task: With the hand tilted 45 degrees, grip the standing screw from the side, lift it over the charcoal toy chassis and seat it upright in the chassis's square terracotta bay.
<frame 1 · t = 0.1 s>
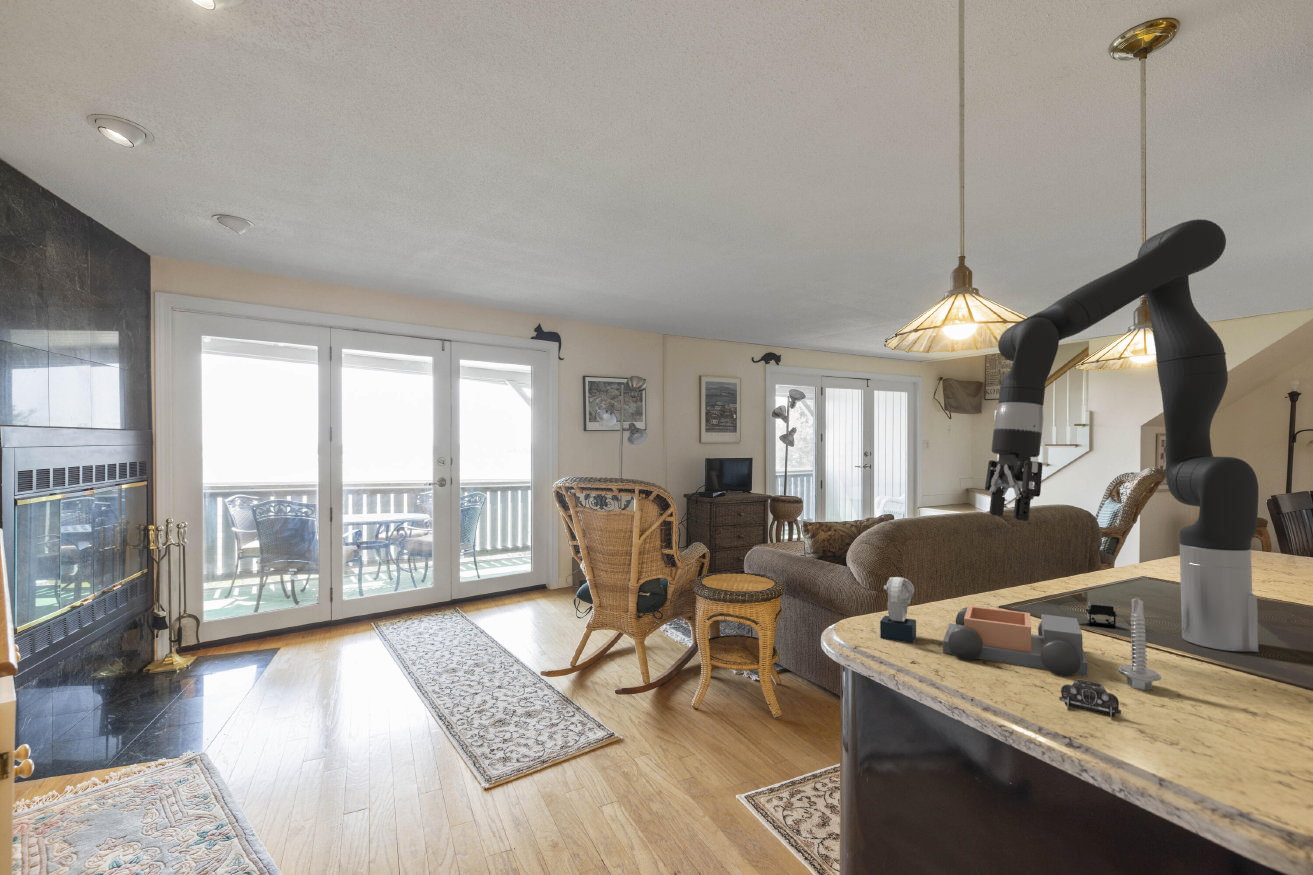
hand: (1007, 517, 106), 22 cm above the counter, tool pointing down, fingers open, 8 cm apart
build plate: (1101, 627, 115), on the counter
bust statue: (898, 638, 108), on the counter
screw: (1139, 687, 85), on the counter
toy chassis: (1011, 652, 99), on the counter
car cutout: (1129, 725, 75), on the counter
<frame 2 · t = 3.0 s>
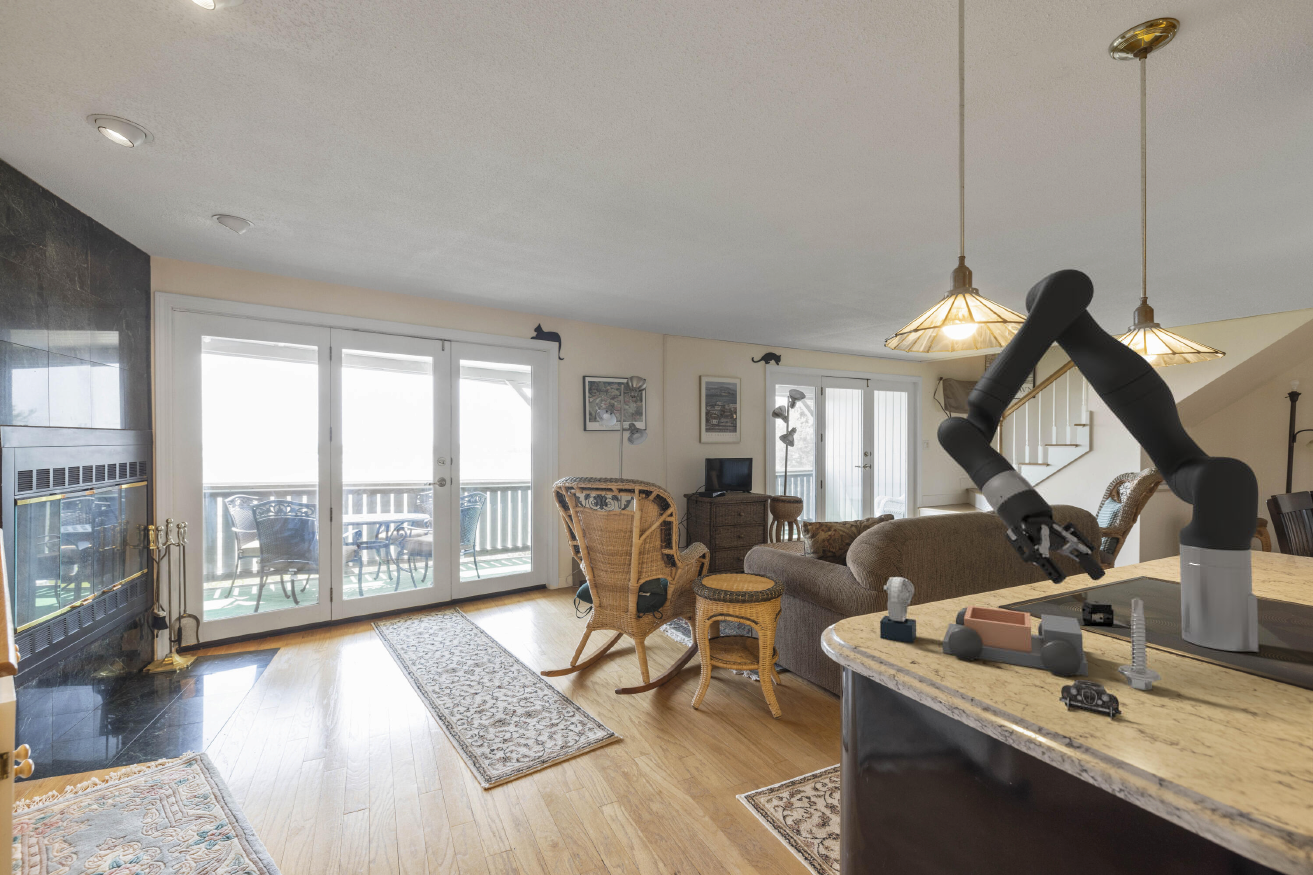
hand: (1081, 579, 93), 14 cm above the counter, tool tilted 45°, fingers open, 8 cm apart
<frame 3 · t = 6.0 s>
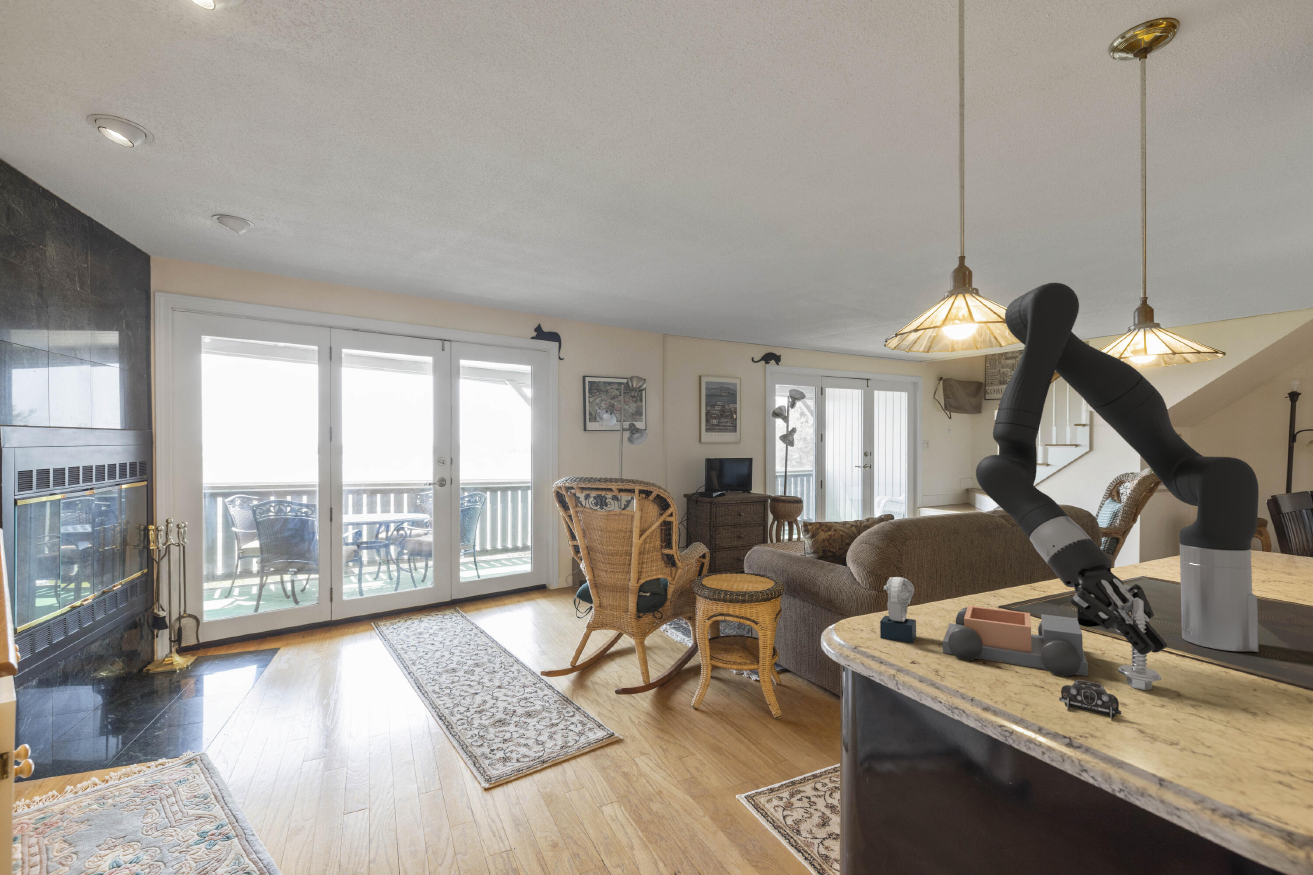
hand: (1154, 650, 83), 6 cm above the counter, tool tilted 45°, fingers closed on screw, 2 cm apart
build plate: (1092, 624, 117), on the counter
screw: (1139, 687, 85), on the counter, touching gripper
everything else where it was.
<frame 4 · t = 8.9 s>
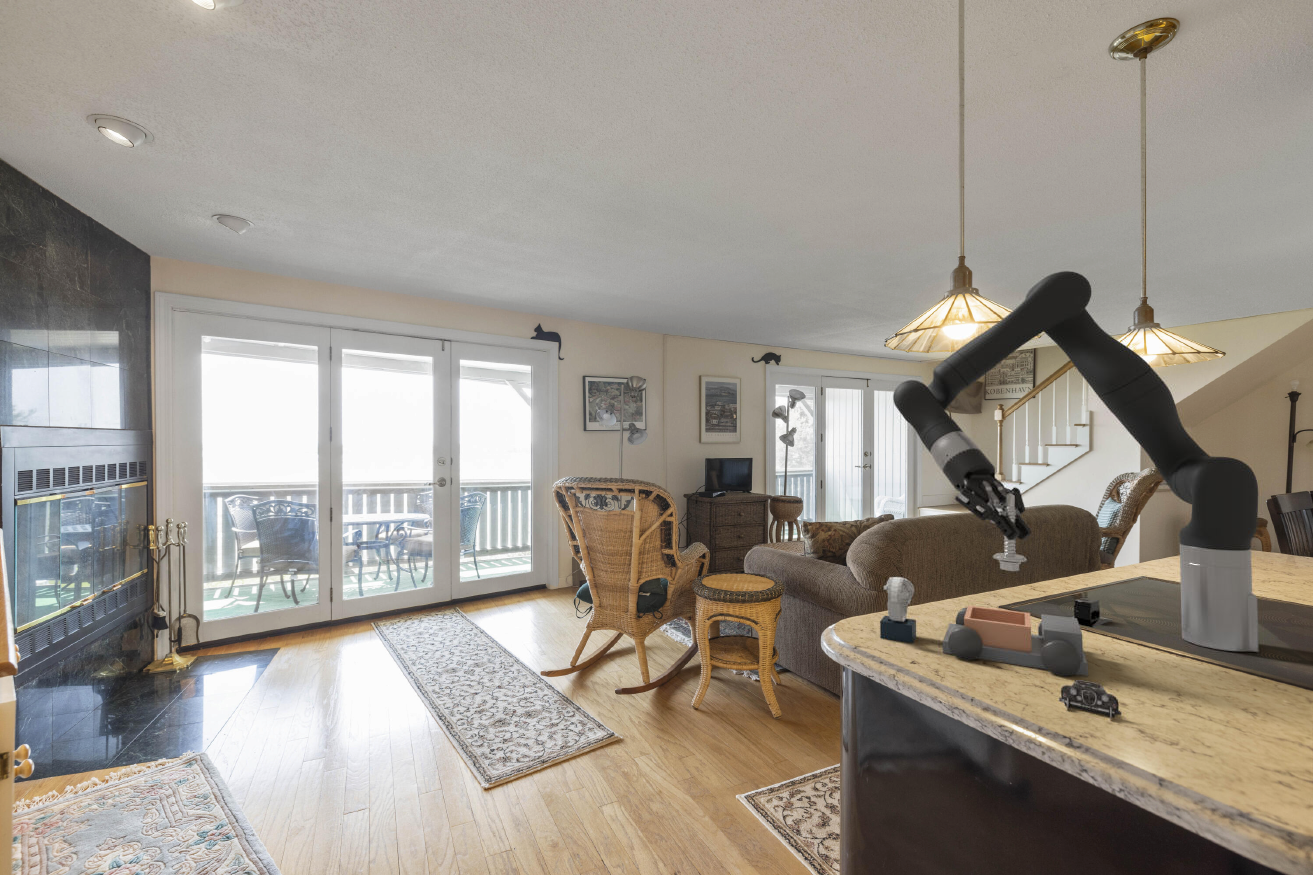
hand: (1020, 536, 97), 20 cm above the counter, tool tilted 45°, fingers closed on screw
screw: (1009, 570, 99), point 14 cm above the counter, touching gripper
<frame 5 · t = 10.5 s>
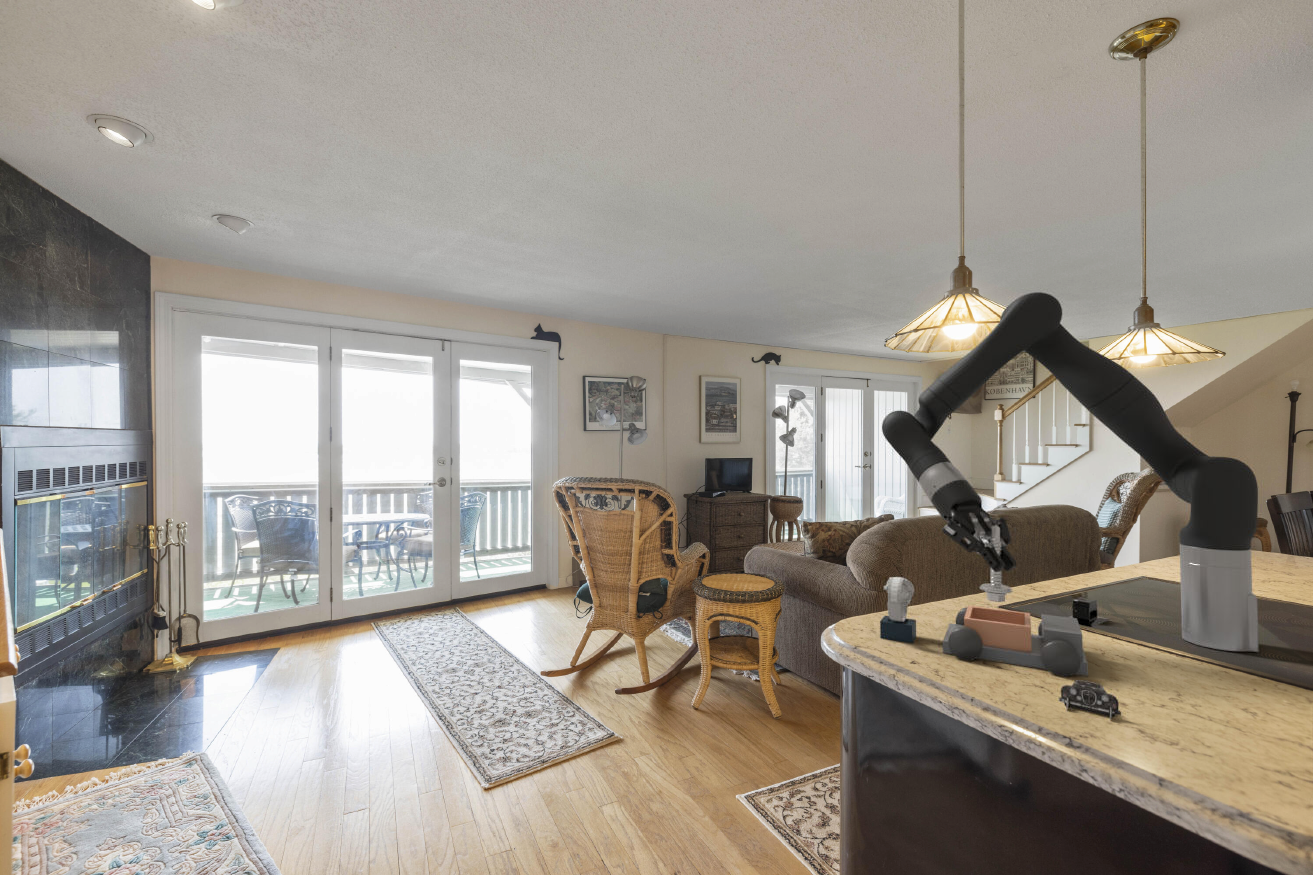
hand: (1006, 568, 99), 15 cm above the counter, tool tilted 45°, fingers closed on screw
screw: (995, 601, 101), point 8 cm above the counter, touching gripper
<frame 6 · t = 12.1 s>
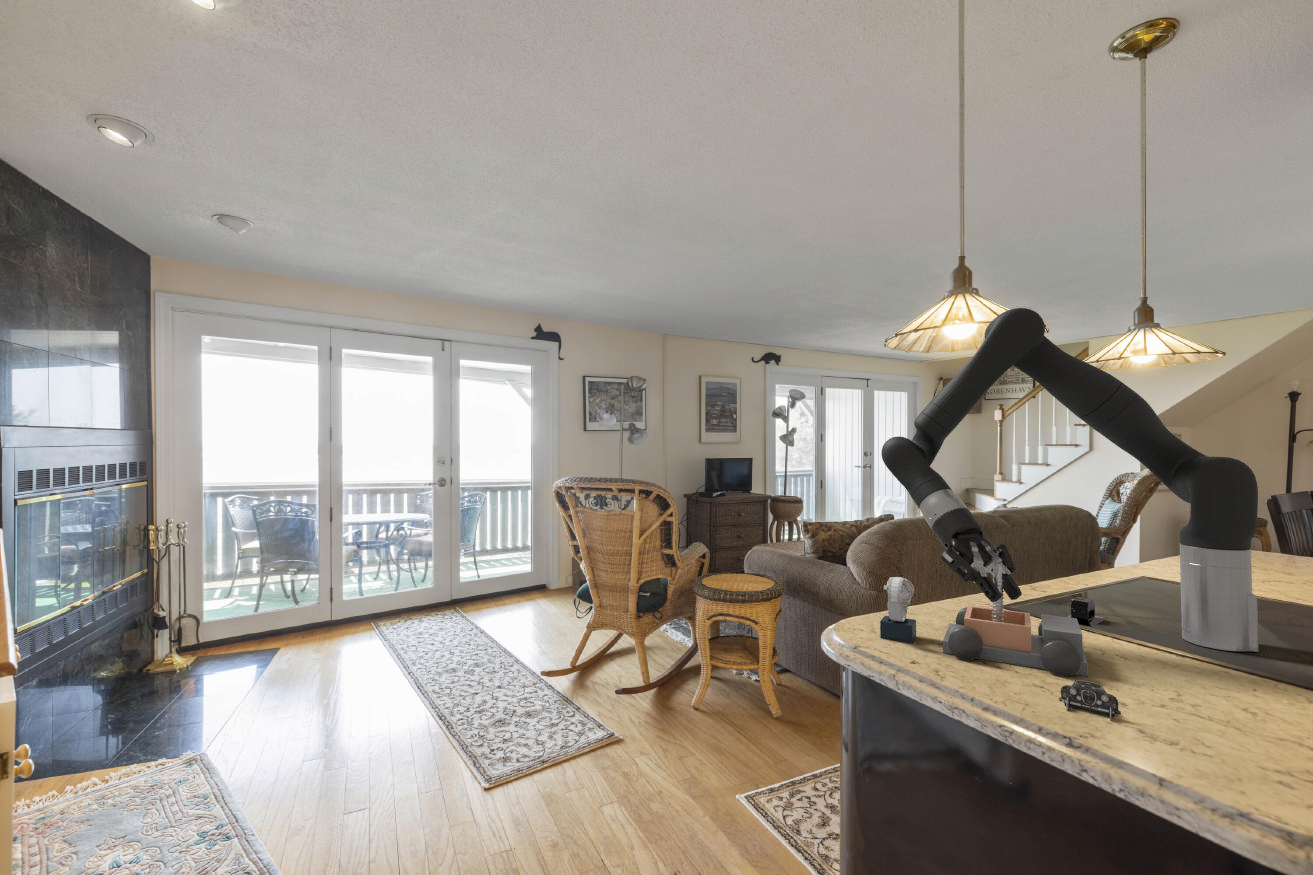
hand: (1007, 597, 99), 10 cm above the counter, tool tilted 45°, fingers open, 4 cm apart
screw: (997, 639, 101), point 2 cm above the counter, touching toy chassis
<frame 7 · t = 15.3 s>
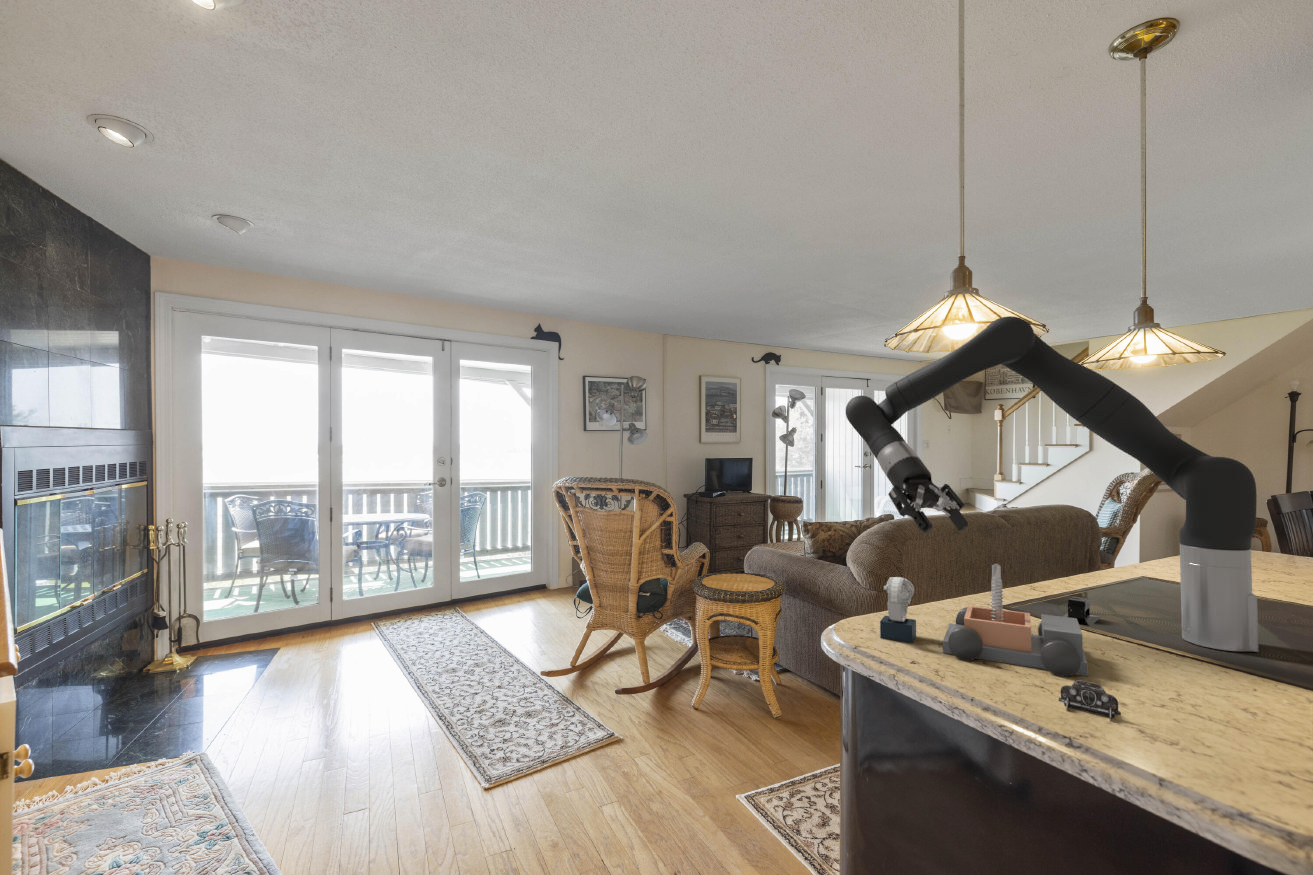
hand: (946, 529, 111), 20 cm above the counter, tool tilted 45°, fingers open, 8 cm apart
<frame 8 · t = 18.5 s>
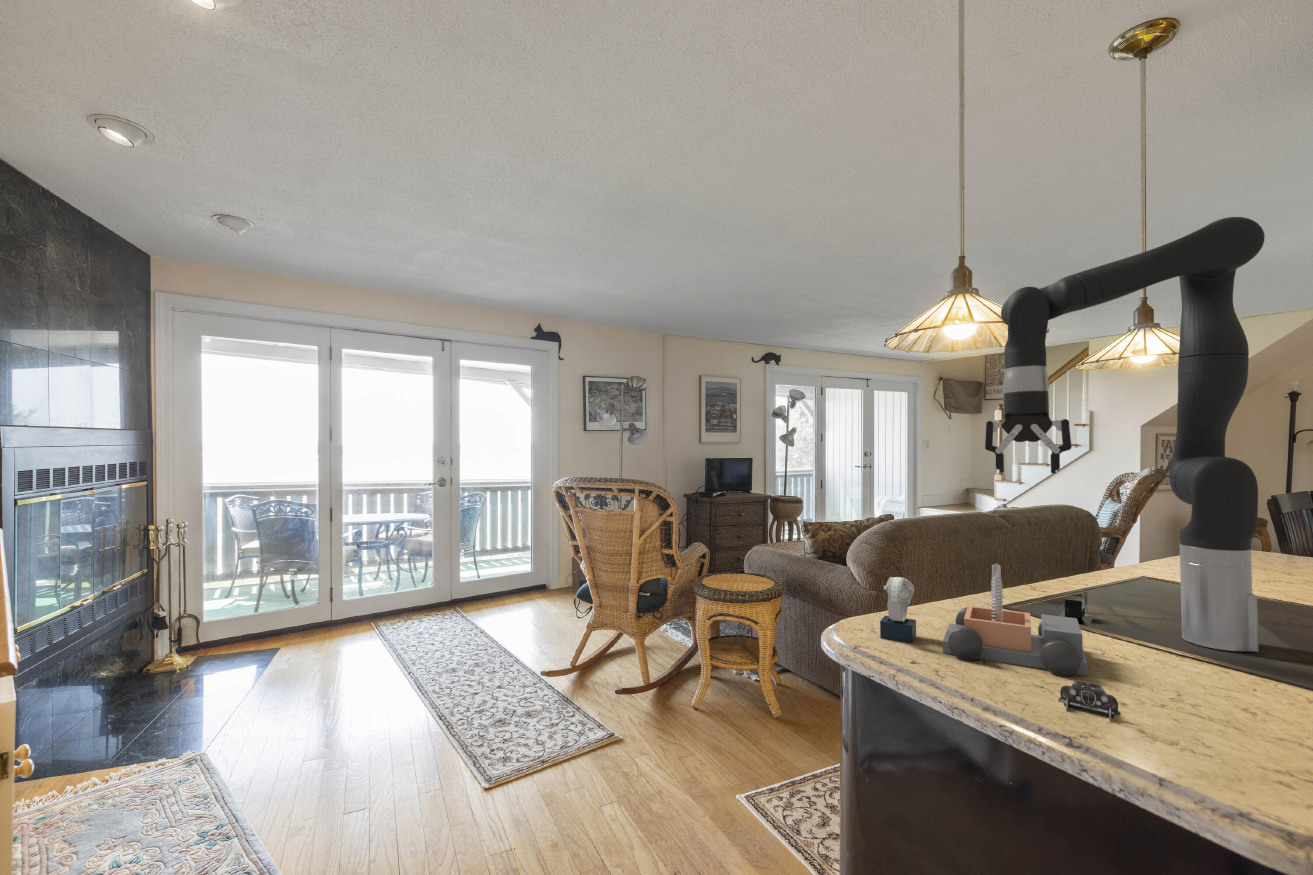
hand: (1027, 472, 114), 30 cm above the counter, tool pointing down, fingers open, 8 cm apart
at the end: screw 0.2 cm from the target spot on the toy chassis, point 1.8 cm above the toy chassis's base; screw tilted 0°; the gripper is holding nothing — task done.
